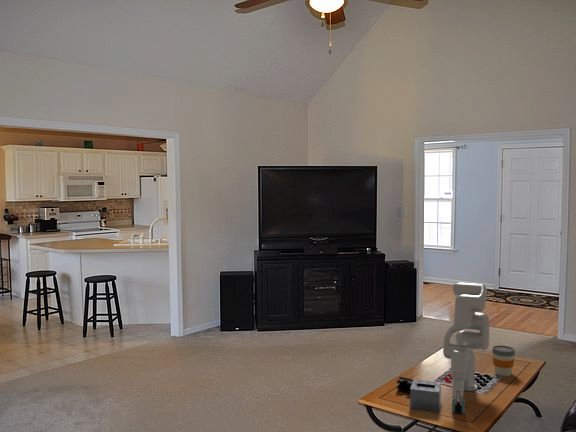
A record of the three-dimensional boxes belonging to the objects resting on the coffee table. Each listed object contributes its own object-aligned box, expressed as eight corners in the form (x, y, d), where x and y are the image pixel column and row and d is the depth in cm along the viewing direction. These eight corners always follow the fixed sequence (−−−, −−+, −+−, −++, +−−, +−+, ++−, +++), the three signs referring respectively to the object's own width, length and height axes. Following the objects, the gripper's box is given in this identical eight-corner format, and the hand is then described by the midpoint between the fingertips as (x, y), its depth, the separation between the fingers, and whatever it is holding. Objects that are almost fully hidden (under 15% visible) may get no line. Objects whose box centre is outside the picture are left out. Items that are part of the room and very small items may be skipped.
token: (452, 409, 265) (452, 398, 265) (464, 411, 263) (464, 399, 263) (451, 411, 264) (452, 399, 263) (464, 413, 262) (464, 401, 261)
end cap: (418, 391, 290) (418, 379, 290) (413, 395, 284) (413, 382, 284) (401, 387, 296) (401, 375, 296) (396, 391, 290) (396, 378, 290)
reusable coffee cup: (492, 368, 325) (493, 344, 325) (515, 371, 320) (515, 347, 319) (490, 375, 314) (491, 350, 313) (513, 378, 309) (514, 352, 308)
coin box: (413, 397, 280) (413, 379, 280) (440, 401, 276) (440, 382, 275) (410, 408, 267) (410, 388, 267) (439, 412, 263) (439, 392, 262)
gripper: (451, 368, 272) (451, 403, 273) (450, 379, 256) (449, 416, 257) (466, 369, 269) (466, 405, 270) (466, 381, 253) (466, 418, 254)
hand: (458, 410), depth 263 cm, fingers open, 4 cm apart
